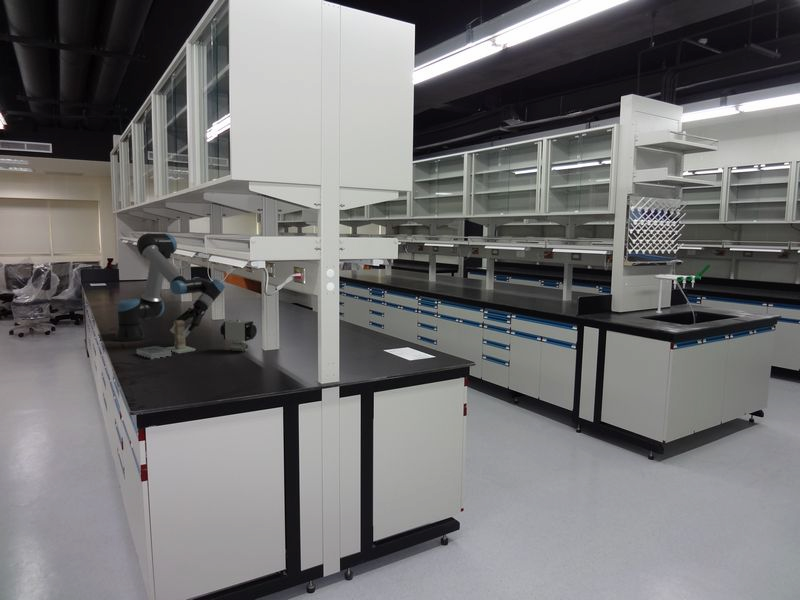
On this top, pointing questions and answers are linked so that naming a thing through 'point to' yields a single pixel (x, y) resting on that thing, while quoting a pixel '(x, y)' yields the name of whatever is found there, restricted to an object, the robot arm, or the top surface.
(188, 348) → the pad
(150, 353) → the socket block
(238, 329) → the bench grinder
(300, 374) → the top surface
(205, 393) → the top surface
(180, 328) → the peg
